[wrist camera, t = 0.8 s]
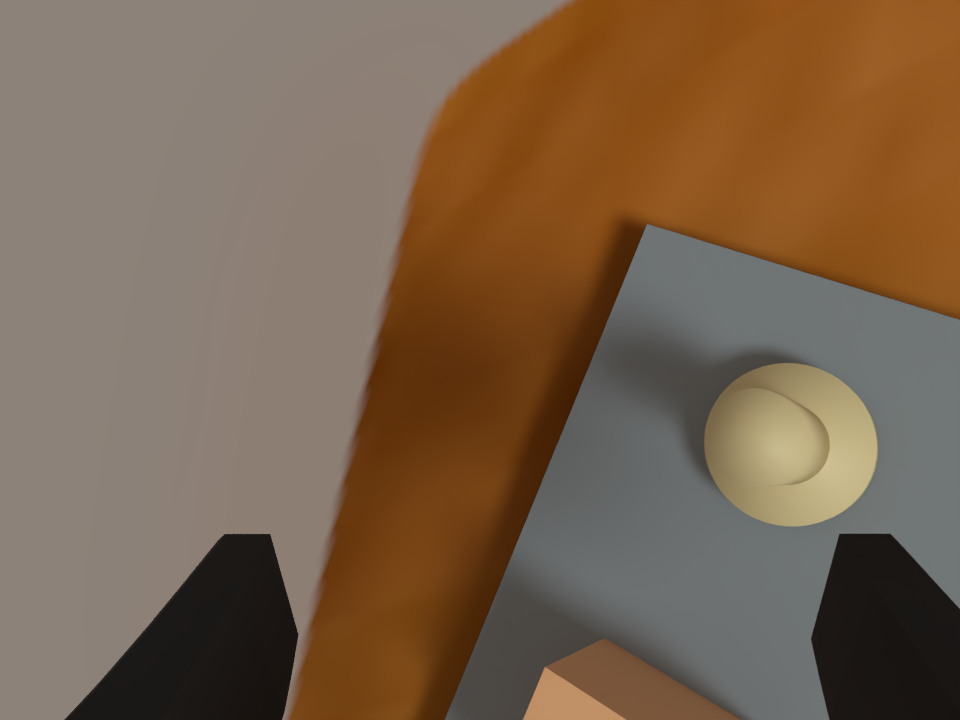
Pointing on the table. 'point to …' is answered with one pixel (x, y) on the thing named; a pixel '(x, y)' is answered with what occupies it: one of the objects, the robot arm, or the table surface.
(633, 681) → the collar
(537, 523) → the board
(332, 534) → the table surface
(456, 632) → the table surface
